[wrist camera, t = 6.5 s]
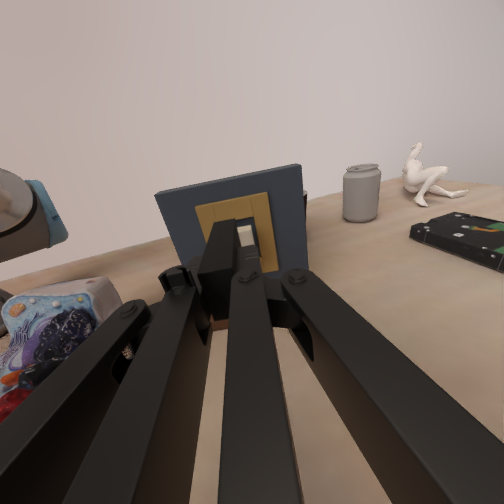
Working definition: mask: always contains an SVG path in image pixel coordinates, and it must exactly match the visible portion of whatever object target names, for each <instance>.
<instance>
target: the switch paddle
mask: <svg viewBox="0 0 504 504" xmlns="http://www.w3.org/2000/svg"><path fill="white" fill-rule="evenodd" d="M237 229H238V234H239V238H240V242H241V246H248V245H255V244H254V239H253V234H252V229H251V225H248V226H243V227H238V228H237Z"/></svg>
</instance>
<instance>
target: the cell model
mask: <svg viewBox="0 0 504 504" xmlns="http://www.w3.org/2000/svg"><path fill="white" fill-rule="evenodd" d="M122 305H123V303H122V301H121V299H120V296H119V294H118V292H117V291H116V289H115V288H114V286H113V284H112V283H111V281H110V280H109V279H108V278H107V277H93V278H88V279H81V280H75V281H67V282H60V283H55V284H51V285H46V286H42V287H39V288H35V289H32V290H29V291H26V292H23V293H20V294H17V295H15V296H13V297H11V298H10V299H9V300H8V301H7V302H6V303H5V304H4V305H3V307H2V310H1V315H2V318H3V321H4V323H5V325H6V327H7V329H8V332H9V334H10V338H11V341H10V344H9V348H8V350H7V351H5V352H4V353H2V354H0V423H1V422H2V421H3V420H4V419H5V418H6V417H8V416H9V415H10V414H11V413H12V412H13V411H14V410H15V409H16V408H17V407H18V406H19V405H20V404H21V403H22V402H23V401H24V400H25V399H26V398H27V397H28V396H29V395H30V394H31V393H32V392H33V391H34V390H35V389H36V388H37V387H38V386H39V385H40V384H41V383H42V382H43V381H44V380H45V379H46V378H47V377H48V376H49V375H50V374H51V373H52V372H53V371H54V370H55V369H56V368H57V367H58V366H59V365H60V364H61V363H62V362H63V361H64V360H65V359H66V358H67V357H68V356H69V355H70V354H71V353H72V352H74V351H75V350H76V349H77V348H78V347H79V346H80V345H81V344H82V343H83V342H84V341H85V340H86V339H87V338H88V337H89V336H90V335H91V334H92V333H93V332H94V331H95V330H96V329H97V328H98V327H99V326H100V325H101V324H102V323H103V322H104V321H105V320H106V319H107V318H108V317H109V316H110V315H111V314H112V313H113V312H114V311H115V310H116V309H118V308H119V307H120V306H122Z"/></svg>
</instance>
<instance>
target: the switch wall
mask: <svg viewBox="0 0 504 504" xmlns="http://www.w3.org/2000/svg"><path fill="white" fill-rule="evenodd" d="M154 196H155V199H156V201H157V204H158V206H159V209H160V211H161V214H162V216H163V219H164V221H165V224H166V226H167V229H168V231H169V234H170V236H171V239H172V241H173V244H174V246H175V249H176V251H177V254H178V256H179V259H180V261H181V264H182V265H185V266H187V264H188V262H189V261H190V260H191V259H192V258H193V257H195V256H200V255H203V253H204V250H205V247H206V244H207V241H208V238H209V235H210V232H211V229H212V226H213V223H214V222H218V221H223V220H228V219H233V218H235V221H236V225H237V228H238V227H243V226H248V225H251V229H252V234H253V239H254V244H255V246H256V247H257V248H258V252H259V258H260V263H261V268H262V273H263V274H264V275H265V276H267V277H269V278H275V279H280V278H281V275H282V274H283V273H284V272H286V271H288V270H291V269H295V268H303V269H307V270H309V267H308V252H307V238H306V224H305V210H304V195H303V182H302V167H301V165H299V164H291V165H286V166H281V167H277V168H272V169H267V170H262V171H257V172H252V173H247V174H242V175H238V176H233V177H228V178H223V179H219V180H214V181H208V182H203V183H199V184H194V185H189V186H184V187H179V188H174V189H169V190H165V191H160V192H158V193H157V194H155V195H154ZM210 322H211V325H212V328H213V331H215V330H221V329H227V328H228V325H229V319H226V320H221V321H215V322H214V319H213V317H212V314H211V318H210Z"/></svg>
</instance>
